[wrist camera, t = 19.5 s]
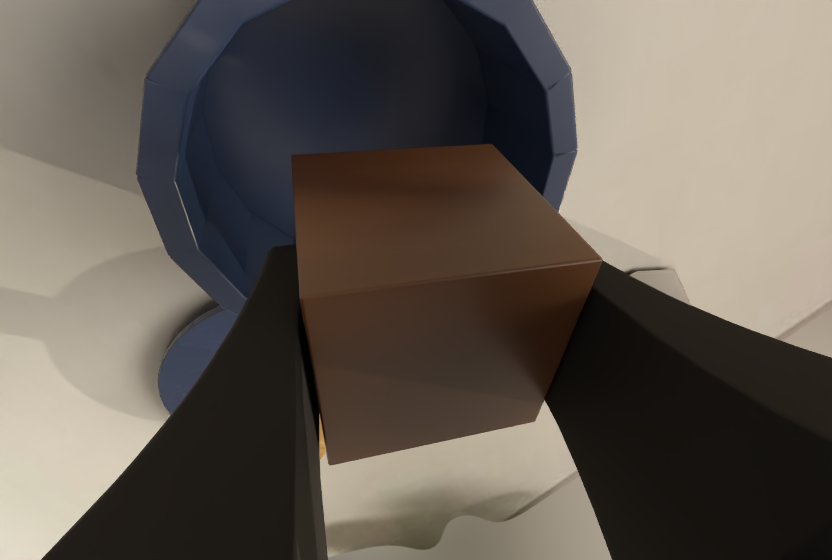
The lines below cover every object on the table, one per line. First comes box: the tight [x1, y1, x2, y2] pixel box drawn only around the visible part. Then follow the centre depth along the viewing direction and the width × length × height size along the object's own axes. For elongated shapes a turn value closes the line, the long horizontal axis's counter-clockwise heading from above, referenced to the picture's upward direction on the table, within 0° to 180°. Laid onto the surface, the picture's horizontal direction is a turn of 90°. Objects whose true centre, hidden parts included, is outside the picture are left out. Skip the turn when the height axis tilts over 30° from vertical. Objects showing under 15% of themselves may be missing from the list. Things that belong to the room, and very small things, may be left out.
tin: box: [136, 0, 577, 315], centre depth 14 cm, size 12×12×5 cm
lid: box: [158, 305, 326, 459], centre depth 21 cm, size 13×13×5 cm
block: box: [291, 144, 602, 465], centre depth 9 cm, size 4×4×4 cm
